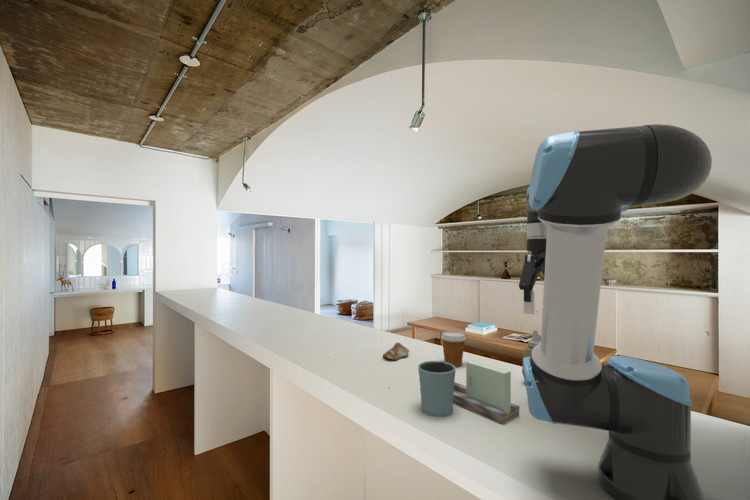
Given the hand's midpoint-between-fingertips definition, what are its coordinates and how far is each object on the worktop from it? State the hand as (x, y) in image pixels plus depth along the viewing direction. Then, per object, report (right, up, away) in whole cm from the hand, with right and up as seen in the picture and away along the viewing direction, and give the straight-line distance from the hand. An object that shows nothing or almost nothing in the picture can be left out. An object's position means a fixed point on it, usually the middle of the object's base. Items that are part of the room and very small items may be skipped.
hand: (540, 311), depth 100 cm
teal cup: (-31, -27, -5) cm, 41 cm away
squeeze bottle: (+5, -27, +14) cm, 31 cm away
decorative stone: (-40, -28, +44) cm, 65 cm away
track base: (-20, -27, -1) cm, 33 cm away
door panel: (-17, -26, -5) cm, 31 cm away
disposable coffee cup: (-18, -27, +34) cm, 47 cm away
